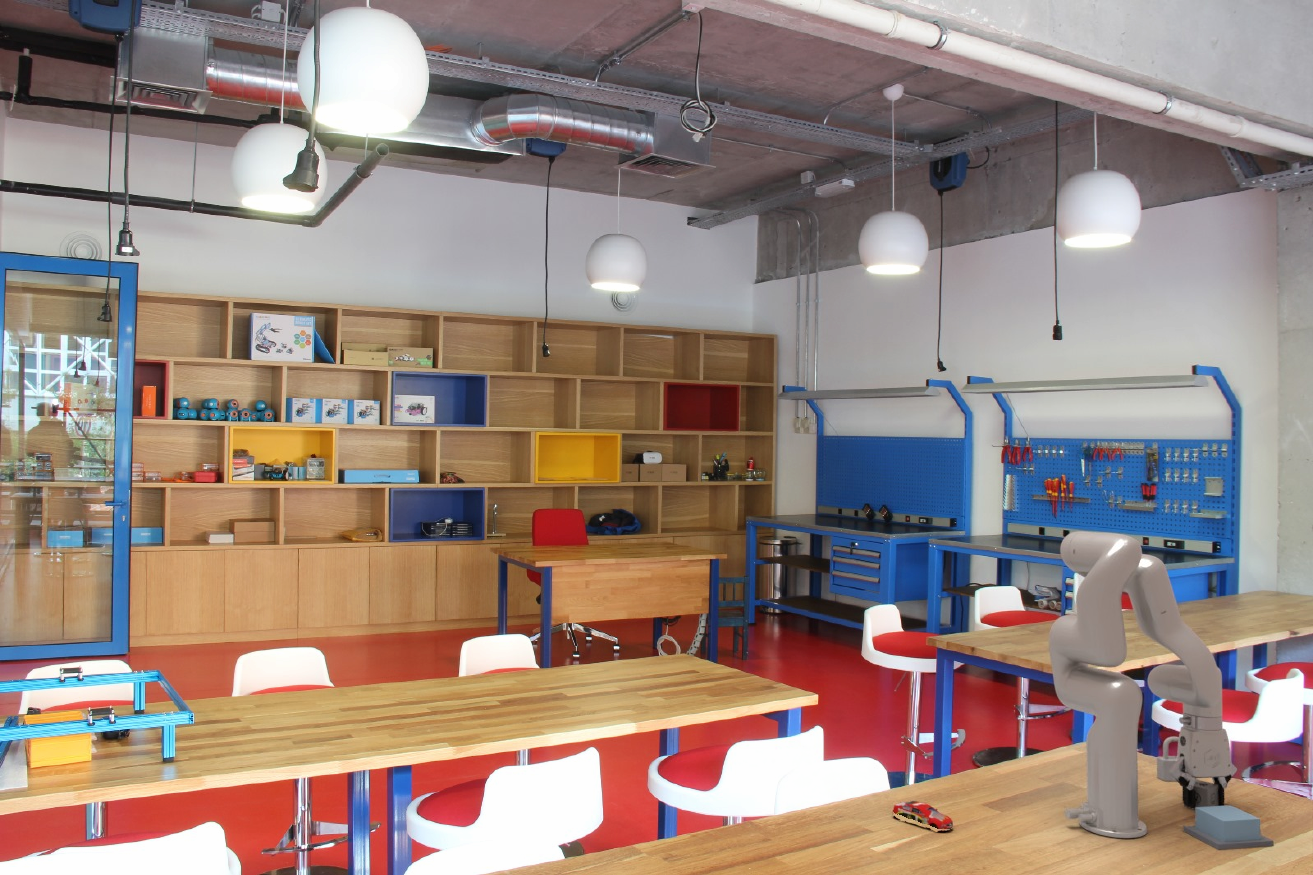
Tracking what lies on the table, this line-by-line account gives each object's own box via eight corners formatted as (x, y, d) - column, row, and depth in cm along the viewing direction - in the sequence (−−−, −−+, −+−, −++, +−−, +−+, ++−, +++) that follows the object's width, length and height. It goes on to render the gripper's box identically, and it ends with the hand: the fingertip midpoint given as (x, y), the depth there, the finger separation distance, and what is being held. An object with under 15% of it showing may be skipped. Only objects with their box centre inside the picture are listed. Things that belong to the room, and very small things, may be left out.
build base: (1218, 849, 195) (1218, 823, 195) (1183, 831, 204) (1182, 806, 205) (1273, 846, 197) (1273, 820, 197) (1236, 827, 206) (1235, 803, 207)
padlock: (1165, 782, 236) (1164, 739, 236) (1155, 777, 240) (1154, 734, 240) (1194, 781, 237) (1193, 738, 237) (1183, 776, 241) (1183, 734, 241)
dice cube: (1207, 812, 215) (1207, 789, 215) (1183, 806, 219) (1183, 783, 219) (1218, 808, 218) (1218, 784, 218) (1194, 801, 222) (1194, 779, 222)
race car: (958, 830, 206) (958, 811, 206) (942, 837, 202) (942, 817, 202) (904, 813, 216) (904, 794, 216) (889, 818, 212) (889, 799, 212)
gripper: (1178, 728, 214) (1179, 813, 213) (1250, 724, 217) (1252, 809, 216) (1155, 719, 221) (1156, 802, 221) (1225, 716, 224) (1226, 798, 224)
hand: (1203, 804), depth 219 cm, fingers closed on dice cube, 6 cm apart
